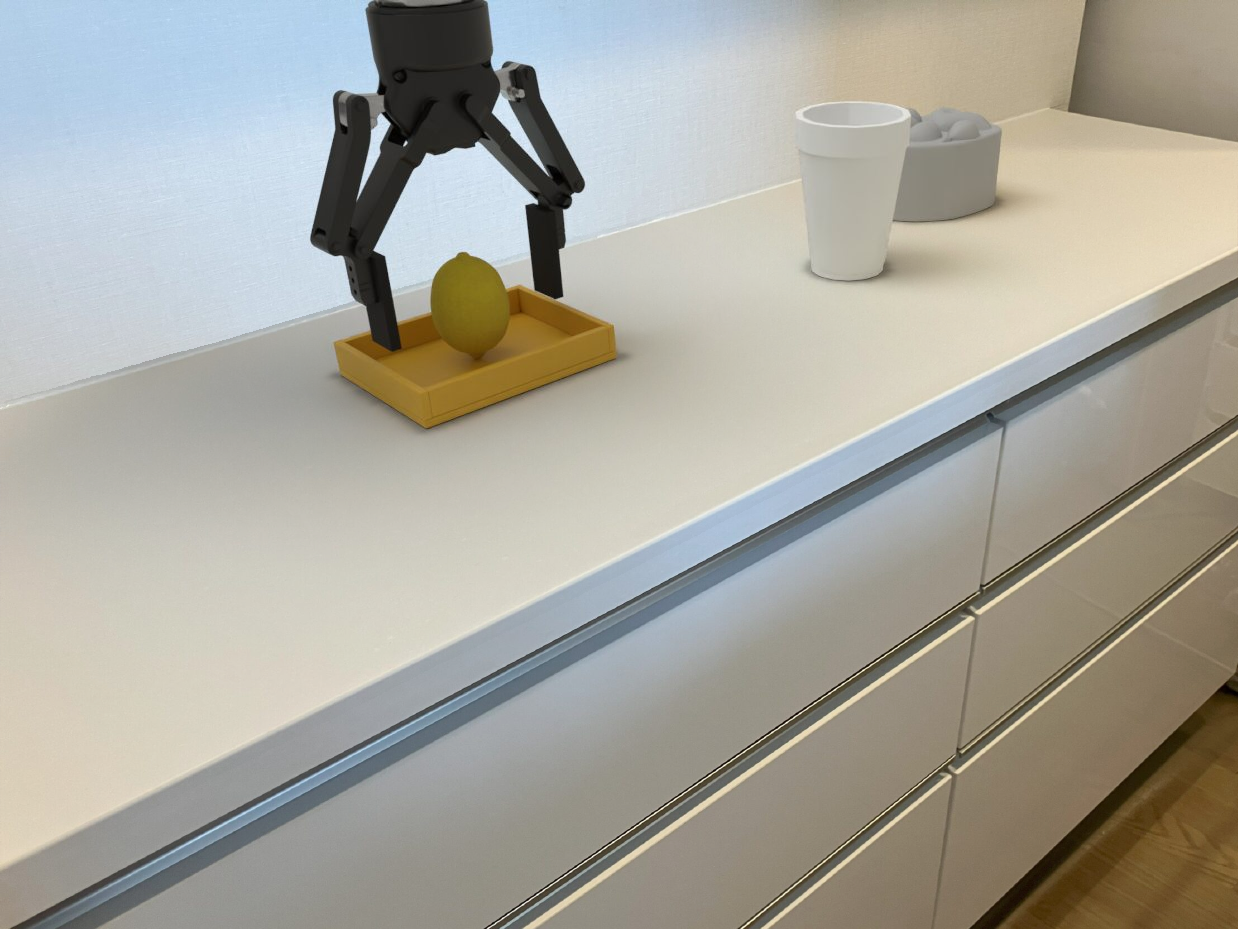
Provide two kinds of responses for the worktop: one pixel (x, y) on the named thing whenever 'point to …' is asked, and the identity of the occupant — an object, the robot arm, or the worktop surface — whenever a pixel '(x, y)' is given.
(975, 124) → the lumpy-topped squat cylinder
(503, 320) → the lemon
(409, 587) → the worktop surface
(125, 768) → the worktop surface
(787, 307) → the worktop surface
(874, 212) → the foam cup
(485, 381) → the yellow tray
